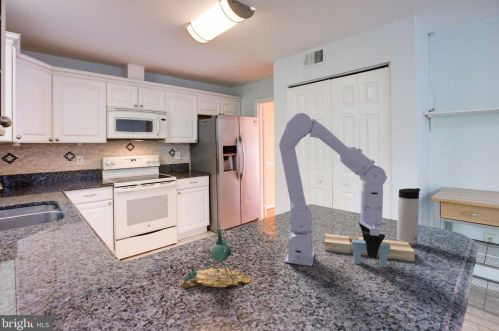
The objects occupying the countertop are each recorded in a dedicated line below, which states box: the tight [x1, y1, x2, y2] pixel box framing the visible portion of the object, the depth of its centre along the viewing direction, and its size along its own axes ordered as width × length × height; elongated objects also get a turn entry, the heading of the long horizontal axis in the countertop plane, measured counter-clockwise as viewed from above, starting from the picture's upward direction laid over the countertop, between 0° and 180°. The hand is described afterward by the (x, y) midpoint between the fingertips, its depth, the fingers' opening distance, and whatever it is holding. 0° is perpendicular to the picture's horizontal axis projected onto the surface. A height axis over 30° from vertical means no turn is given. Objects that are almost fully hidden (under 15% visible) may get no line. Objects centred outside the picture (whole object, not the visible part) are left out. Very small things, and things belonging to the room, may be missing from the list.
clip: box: [352, 239, 390, 269], centre depth 74 cm, size 2×10×6 cm, turn 71°
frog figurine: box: [180, 227, 252, 288], centre depth 64 cm, size 10×18×15 cm, turn 89°
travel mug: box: [396, 187, 421, 247], centre depth 90 cm, size 6×7×20 cm
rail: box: [324, 233, 416, 262], centre depth 84 cm, size 8×26×3 cm, turn 71°
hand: (370, 251), depth 74 cm, fingers open, 7 cm apart
